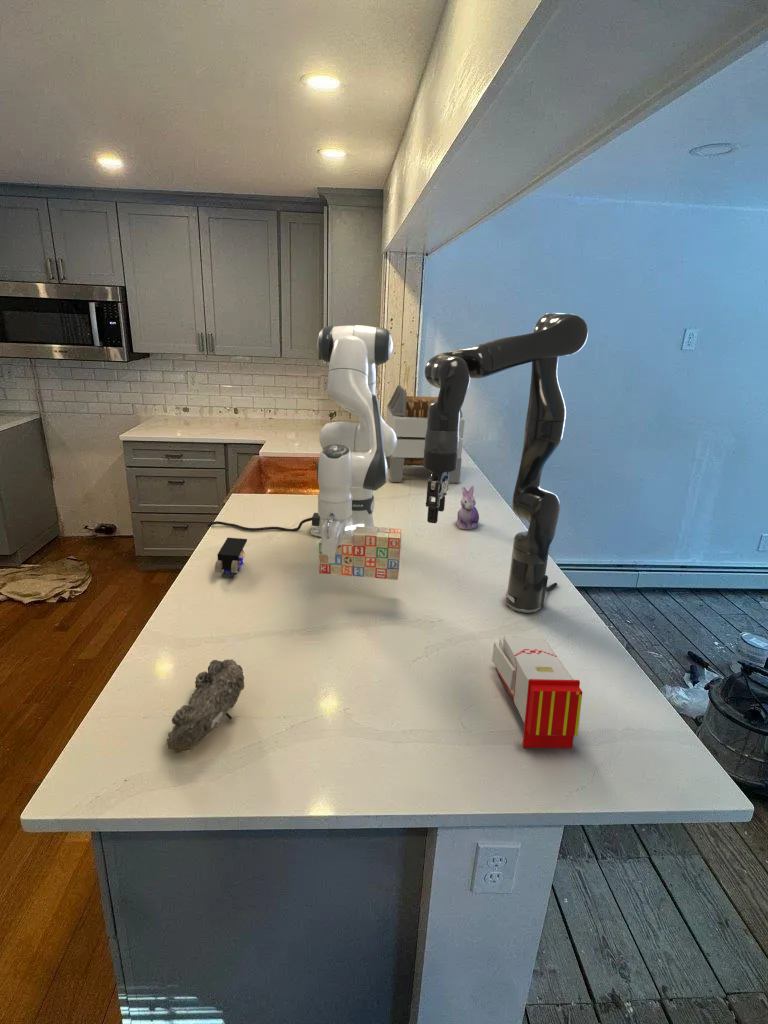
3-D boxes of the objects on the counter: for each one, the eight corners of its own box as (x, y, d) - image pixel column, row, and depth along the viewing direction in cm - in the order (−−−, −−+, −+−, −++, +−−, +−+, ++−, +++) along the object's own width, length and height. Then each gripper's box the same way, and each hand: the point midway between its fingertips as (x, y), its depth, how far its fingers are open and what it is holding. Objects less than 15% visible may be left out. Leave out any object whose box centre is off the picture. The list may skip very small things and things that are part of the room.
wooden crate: (382, 463, 289) (386, 382, 275) (445, 464, 293) (451, 384, 279) (390, 482, 257) (394, 392, 243) (460, 483, 261) (468, 394, 247)
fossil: (192, 660, 117) (244, 628, 112) (224, 691, 120) (276, 661, 115) (142, 746, 98) (202, 712, 93) (182, 779, 101) (242, 748, 96)
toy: (540, 620, 128) (592, 687, 99) (535, 674, 131) (584, 755, 102) (487, 619, 128) (523, 686, 99) (483, 673, 131) (517, 754, 101)
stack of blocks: (318, 574, 151) (318, 532, 147) (322, 564, 157) (322, 523, 153) (398, 580, 150) (400, 537, 145) (399, 569, 156) (401, 528, 151)
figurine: (464, 532, 204) (468, 492, 199) (449, 522, 212) (452, 484, 207) (486, 528, 208) (490, 489, 203) (469, 519, 216) (473, 481, 211)
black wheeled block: (238, 584, 162) (249, 557, 175) (236, 562, 158) (247, 536, 172) (215, 584, 161) (227, 556, 175) (212, 561, 158) (225, 535, 171)
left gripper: (340, 523, 138) (339, 574, 143) (352, 496, 157) (351, 541, 162) (315, 521, 138) (315, 572, 143) (329, 494, 157) (329, 540, 162)
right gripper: (452, 457, 119) (446, 529, 124) (462, 443, 132) (456, 509, 137) (417, 453, 120) (413, 524, 126) (431, 440, 133) (426, 505, 139)
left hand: (334, 555), depth 153 cm, fingers closed on stack of blocks, 6 cm apart
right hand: (435, 516), depth 131 cm, fingers open, 8 cm apart
